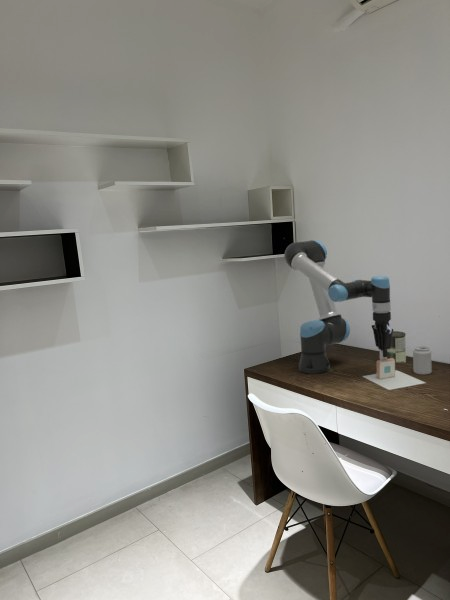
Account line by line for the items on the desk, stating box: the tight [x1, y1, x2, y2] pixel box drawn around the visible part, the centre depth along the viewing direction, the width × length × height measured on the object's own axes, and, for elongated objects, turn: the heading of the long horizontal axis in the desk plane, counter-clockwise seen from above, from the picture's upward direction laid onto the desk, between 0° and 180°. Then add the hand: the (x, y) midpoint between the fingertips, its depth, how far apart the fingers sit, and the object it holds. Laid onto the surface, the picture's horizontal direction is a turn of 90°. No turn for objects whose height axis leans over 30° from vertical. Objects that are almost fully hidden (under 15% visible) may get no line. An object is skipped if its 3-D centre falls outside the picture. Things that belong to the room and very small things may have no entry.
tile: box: [375, 358, 396, 379], centre depth 204 cm, size 2×8×8 cm, turn 105°
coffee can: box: [387, 330, 407, 364], centre depth 227 cm, size 10×10×14 cm
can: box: [412, 345, 433, 375], centre depth 207 cm, size 8×8×12 cm
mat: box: [362, 369, 426, 391], centre depth 201 cm, size 20×18×1 cm
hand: (383, 363), depth 205 cm, fingers closed
